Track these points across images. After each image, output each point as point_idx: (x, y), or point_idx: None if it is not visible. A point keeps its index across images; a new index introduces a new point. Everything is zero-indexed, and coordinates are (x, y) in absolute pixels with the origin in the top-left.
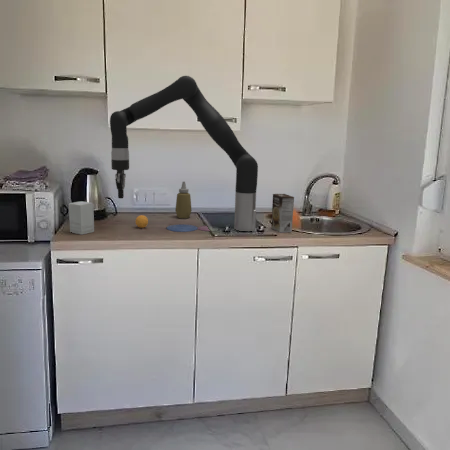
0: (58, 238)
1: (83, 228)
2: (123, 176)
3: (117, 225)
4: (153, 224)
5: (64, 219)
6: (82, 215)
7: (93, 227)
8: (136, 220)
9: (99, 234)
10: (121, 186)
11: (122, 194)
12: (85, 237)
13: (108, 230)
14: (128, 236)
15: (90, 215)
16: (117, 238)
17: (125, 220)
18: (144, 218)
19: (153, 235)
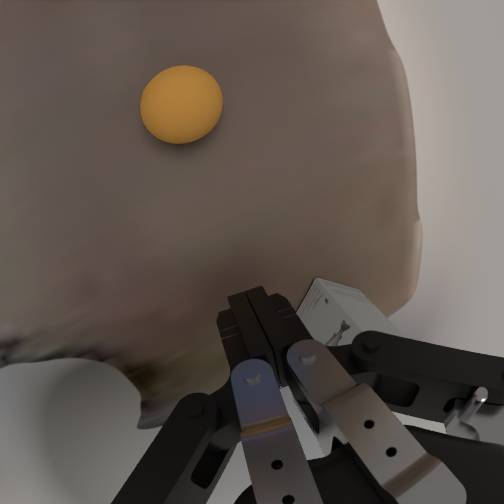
0: (389, 314)
1: (363, 298)
2: (450, 481)
3: (169, 250)
4: (82, 84)
5: None
6: (393, 327)
7: (327, 286)
8: (212, 127)
9: (349, 240)
10: (414, 347)
11: (275, 311)
12: (384, 260)
13: (282, 239)
14: (363, 120)
15: (364, 320)
16: (392, 154)
17: (55, 266)
18: (204, 76)
19: (326, 23)
